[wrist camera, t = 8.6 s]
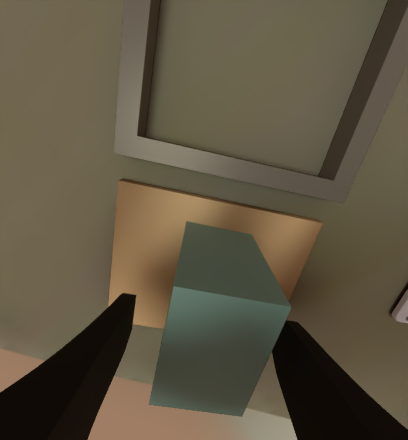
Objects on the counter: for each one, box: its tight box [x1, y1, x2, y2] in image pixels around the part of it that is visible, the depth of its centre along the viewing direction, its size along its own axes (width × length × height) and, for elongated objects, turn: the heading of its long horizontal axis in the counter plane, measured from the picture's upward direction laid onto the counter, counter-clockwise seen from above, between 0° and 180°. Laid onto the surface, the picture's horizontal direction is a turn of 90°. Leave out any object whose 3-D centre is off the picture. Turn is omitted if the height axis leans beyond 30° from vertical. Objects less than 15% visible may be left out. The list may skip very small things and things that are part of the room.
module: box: [149, 221, 292, 417], centre depth 11 cm, size 4×6×6 cm, turn 167°
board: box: [108, 179, 323, 329], centre depth 14 cm, size 12×10×1 cm
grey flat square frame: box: [114, 0, 408, 203], centre depth 10 cm, size 12×11×2 cm
